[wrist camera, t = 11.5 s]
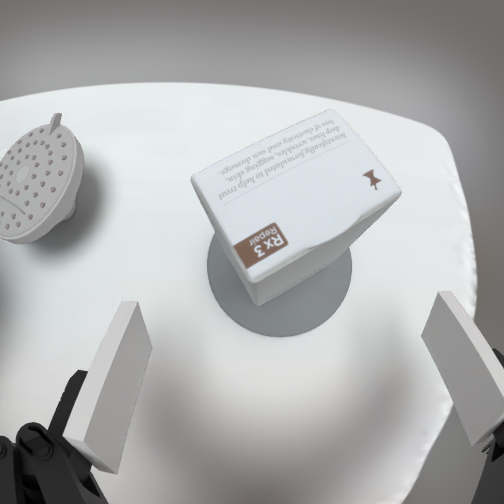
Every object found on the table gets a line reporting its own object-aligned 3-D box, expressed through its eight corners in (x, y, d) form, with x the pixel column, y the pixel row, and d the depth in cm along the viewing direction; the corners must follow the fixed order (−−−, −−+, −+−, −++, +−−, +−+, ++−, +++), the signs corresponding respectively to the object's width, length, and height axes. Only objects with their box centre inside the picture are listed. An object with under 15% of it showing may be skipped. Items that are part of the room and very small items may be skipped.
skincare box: (298, 214, 22) (333, 95, 10) (333, 267, 21) (411, 188, 9) (222, 257, 21) (181, 165, 10) (256, 314, 20) (252, 286, 8)
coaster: (206, 335, 20) (204, 335, 20) (211, 198, 23) (210, 195, 23) (352, 334, 20) (354, 334, 20) (343, 199, 23) (345, 196, 22)
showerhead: (99, 119, 17) (20, 257, 15) (135, 171, 24) (78, 280, 22) (27, 105, 18) (-36, 210, 16) (64, 147, 25) (15, 237, 23)
